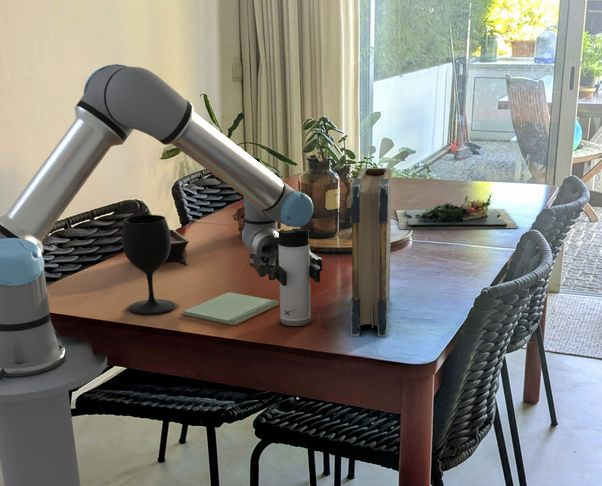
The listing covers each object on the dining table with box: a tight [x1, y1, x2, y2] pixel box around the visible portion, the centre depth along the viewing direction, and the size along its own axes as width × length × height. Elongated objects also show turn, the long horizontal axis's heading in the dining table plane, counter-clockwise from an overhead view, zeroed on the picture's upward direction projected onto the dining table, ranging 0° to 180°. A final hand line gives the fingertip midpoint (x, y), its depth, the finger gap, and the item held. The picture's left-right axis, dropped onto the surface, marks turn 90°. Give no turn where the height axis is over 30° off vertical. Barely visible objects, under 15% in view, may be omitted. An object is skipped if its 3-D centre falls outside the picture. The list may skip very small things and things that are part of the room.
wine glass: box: [121, 214, 177, 316], centre depth 188 cm, size 10×10×20 cm
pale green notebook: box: [182, 291, 280, 326], centre depth 189 cm, size 16×14×1 cm
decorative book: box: [349, 167, 392, 338], centre depth 177 cm, size 23×7×30 cm, turn 172°
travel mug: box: [278, 227, 311, 327], centre depth 177 cm, size 6×7×20 cm
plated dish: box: [395, 193, 518, 230], centre depth 267 cm, size 35×28×7 cm
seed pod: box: [232, 205, 282, 235], centre depth 253 cm, size 13×16×15 cm
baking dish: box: [164, 229, 190, 266], centre depth 226 cm, size 14×18×10 cm
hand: (301, 277), depth 172 cm, fingers closed on travel mug, 6 cm apart
